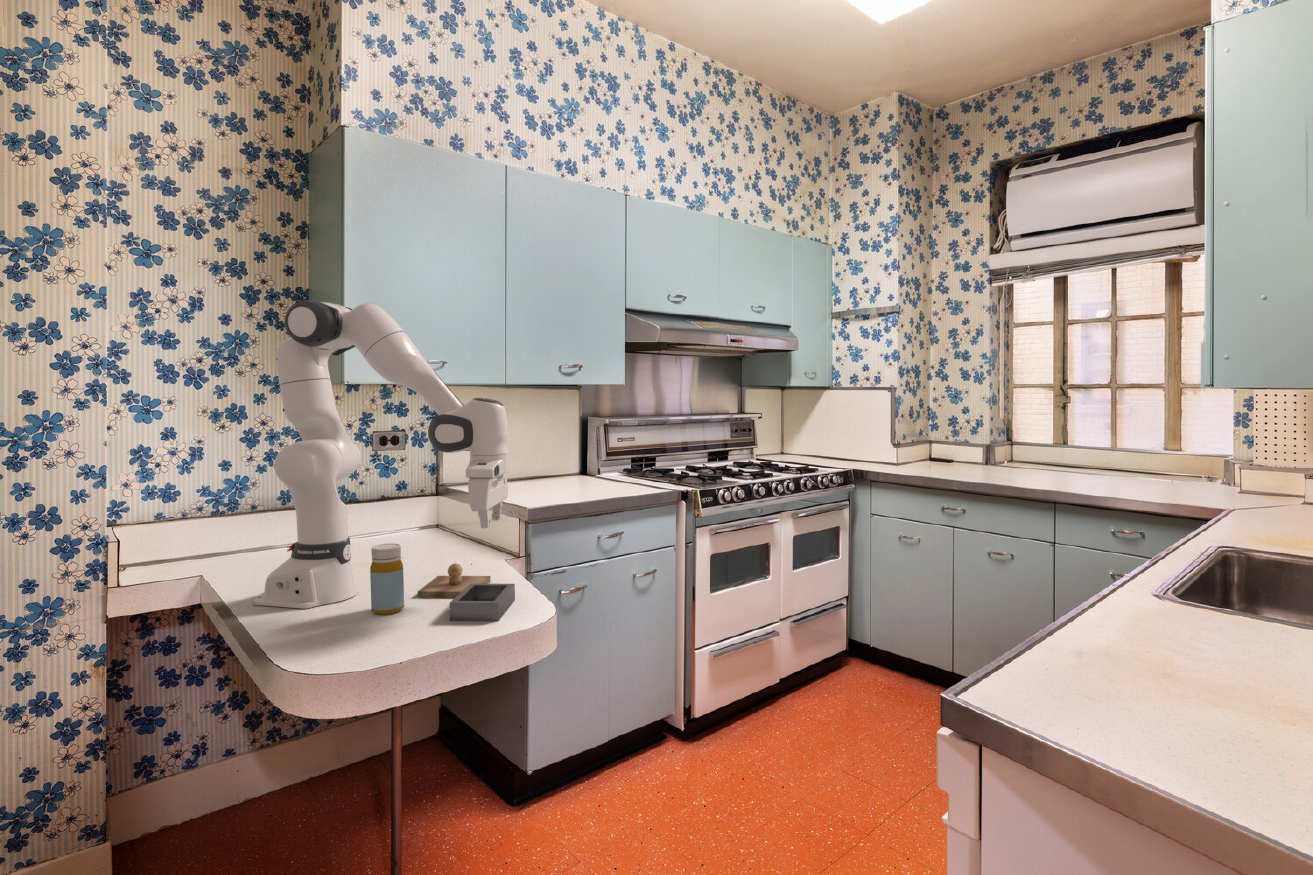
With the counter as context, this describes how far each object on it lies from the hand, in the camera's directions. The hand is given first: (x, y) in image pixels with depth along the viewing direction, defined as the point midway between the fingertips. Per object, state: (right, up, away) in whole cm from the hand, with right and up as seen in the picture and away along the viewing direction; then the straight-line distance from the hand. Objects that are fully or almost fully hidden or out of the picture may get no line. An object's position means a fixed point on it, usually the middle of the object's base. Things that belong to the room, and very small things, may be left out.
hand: (490, 523), depth 157 cm
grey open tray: (0, -19, -5) cm, 20 cm away
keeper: (-12, -18, +11) cm, 24 cm away
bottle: (-22, -20, -6) cm, 30 cm away
